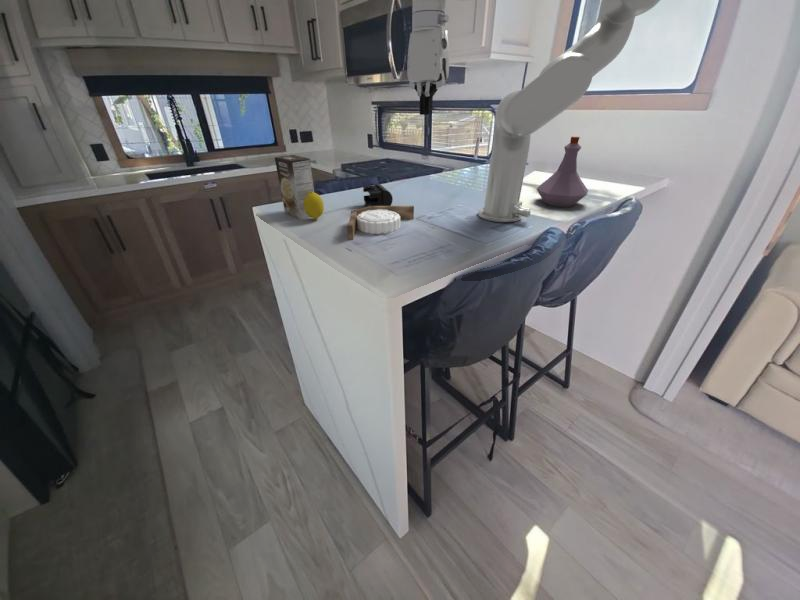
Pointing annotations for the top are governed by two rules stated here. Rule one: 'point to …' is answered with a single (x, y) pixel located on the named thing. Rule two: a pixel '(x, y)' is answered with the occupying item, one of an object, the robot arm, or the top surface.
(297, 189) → the coffee box
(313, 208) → the lemon
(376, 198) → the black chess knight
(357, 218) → the mooncake
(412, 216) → the centring jig
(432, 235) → the top surface
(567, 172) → the flask
